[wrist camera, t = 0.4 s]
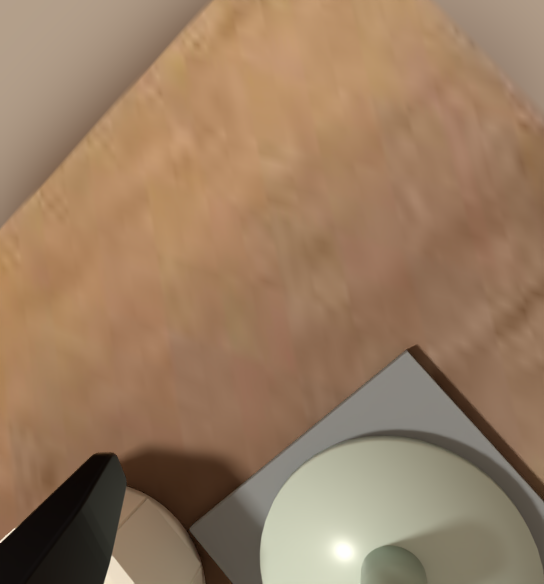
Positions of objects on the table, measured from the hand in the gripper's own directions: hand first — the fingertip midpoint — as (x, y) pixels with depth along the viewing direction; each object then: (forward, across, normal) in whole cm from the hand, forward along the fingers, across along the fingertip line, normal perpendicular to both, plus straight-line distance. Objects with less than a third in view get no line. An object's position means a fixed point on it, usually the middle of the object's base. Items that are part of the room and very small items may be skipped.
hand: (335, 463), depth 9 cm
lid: (+7, -2, +16) cm, 18 cm away
